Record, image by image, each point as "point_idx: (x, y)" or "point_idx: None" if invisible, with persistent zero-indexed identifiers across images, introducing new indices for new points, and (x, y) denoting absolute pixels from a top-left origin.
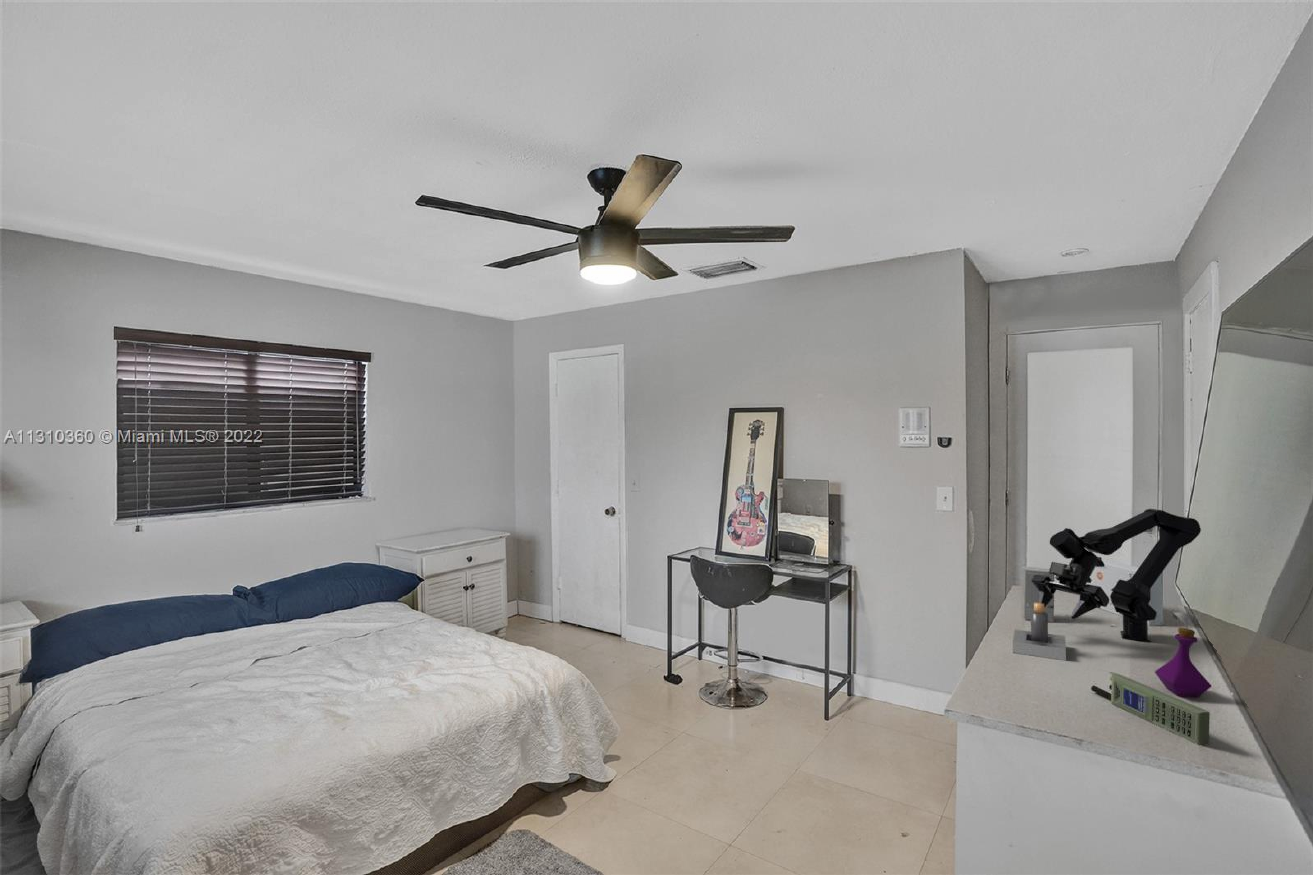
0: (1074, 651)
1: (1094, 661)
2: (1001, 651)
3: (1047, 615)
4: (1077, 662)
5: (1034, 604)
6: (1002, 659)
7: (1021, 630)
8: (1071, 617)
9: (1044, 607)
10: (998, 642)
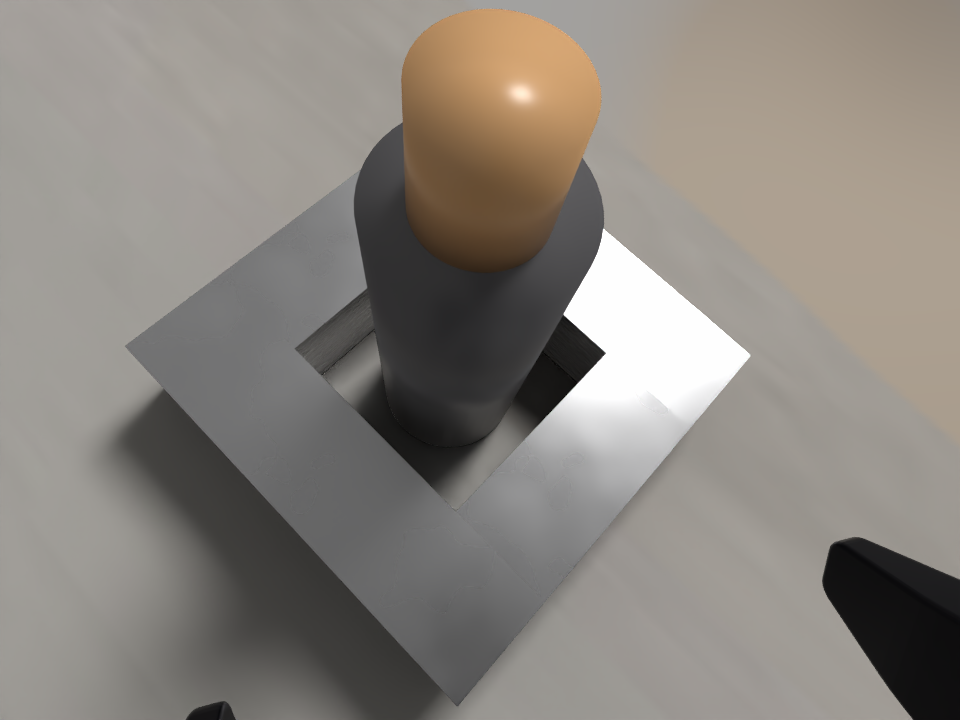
0: (324, 665)
1: (43, 614)
2: None
3: (371, 267)
4: (99, 438)
5: (525, 26)
6: (359, 25)
7: (716, 390)
8: (219, 707)
9: (906, 703)
10: (668, 231)
